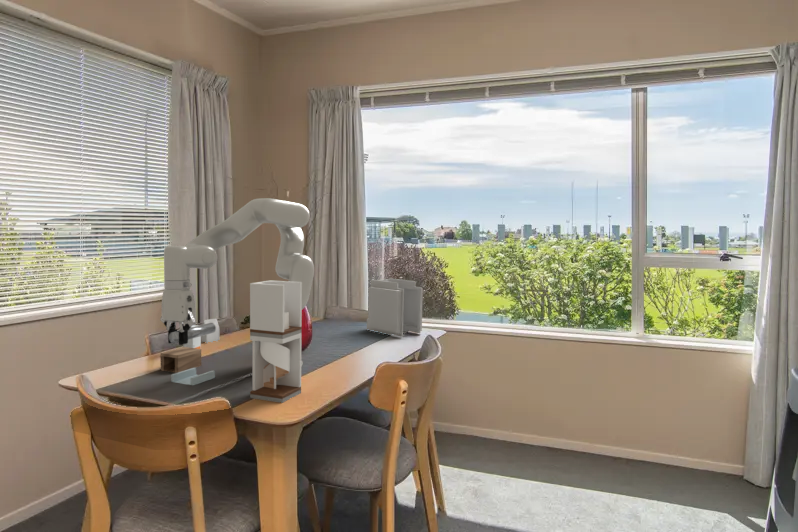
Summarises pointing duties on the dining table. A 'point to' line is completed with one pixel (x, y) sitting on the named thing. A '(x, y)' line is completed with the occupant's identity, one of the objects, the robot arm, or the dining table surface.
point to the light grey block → (211, 336)
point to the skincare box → (194, 342)
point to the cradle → (191, 377)
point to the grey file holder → (395, 306)
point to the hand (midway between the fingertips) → (178, 342)
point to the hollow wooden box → (180, 359)
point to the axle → (194, 332)
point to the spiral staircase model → (276, 339)
